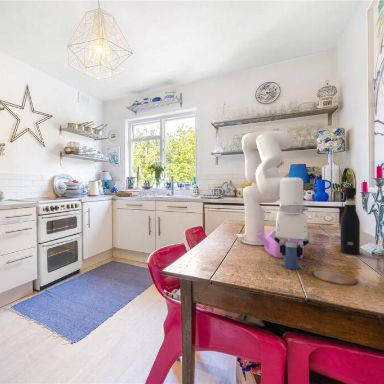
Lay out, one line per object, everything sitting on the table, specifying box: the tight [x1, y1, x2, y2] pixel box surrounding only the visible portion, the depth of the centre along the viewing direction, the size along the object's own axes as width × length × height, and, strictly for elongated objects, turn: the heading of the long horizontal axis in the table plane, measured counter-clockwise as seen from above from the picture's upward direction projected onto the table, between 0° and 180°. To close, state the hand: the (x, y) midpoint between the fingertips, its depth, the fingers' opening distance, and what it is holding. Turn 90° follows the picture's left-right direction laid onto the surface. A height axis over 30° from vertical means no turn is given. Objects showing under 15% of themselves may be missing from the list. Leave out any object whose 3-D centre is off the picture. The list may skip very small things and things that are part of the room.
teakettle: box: [257, 228, 309, 260], centre depth 109 cm, size 17×17×12 cm
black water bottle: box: [340, 187, 361, 256], centre depth 108 cm, size 6×6×30 cm
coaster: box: [313, 270, 357, 286], centre depth 81 cm, size 11×11×1 cm
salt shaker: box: [283, 241, 299, 270], centre depth 91 cm, size 5×5×10 cm
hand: (290, 255), depth 91 cm, fingers closed on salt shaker, 4 cm apart
